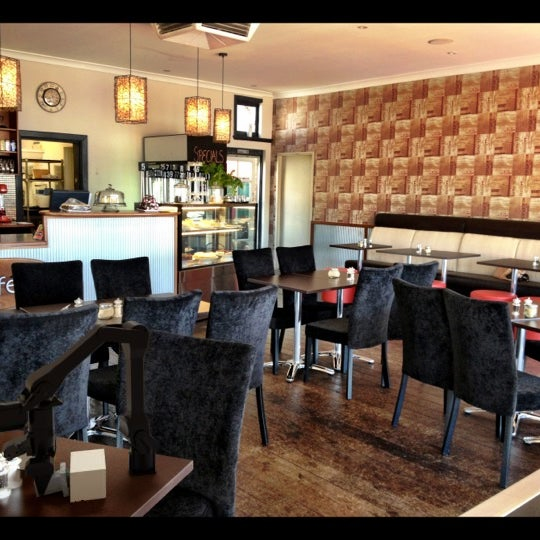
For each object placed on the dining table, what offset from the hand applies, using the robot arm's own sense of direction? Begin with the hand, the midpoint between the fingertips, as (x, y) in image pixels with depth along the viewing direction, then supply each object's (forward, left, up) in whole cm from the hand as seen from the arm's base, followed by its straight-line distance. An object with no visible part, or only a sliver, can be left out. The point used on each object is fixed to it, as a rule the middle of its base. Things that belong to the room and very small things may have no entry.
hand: (42, 487), depth 139 cm
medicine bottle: (+2, -17, -2) cm, 17 cm away
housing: (-11, 0, -2) cm, 11 cm away
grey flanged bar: (-6, 0, -2) cm, 6 cm away
